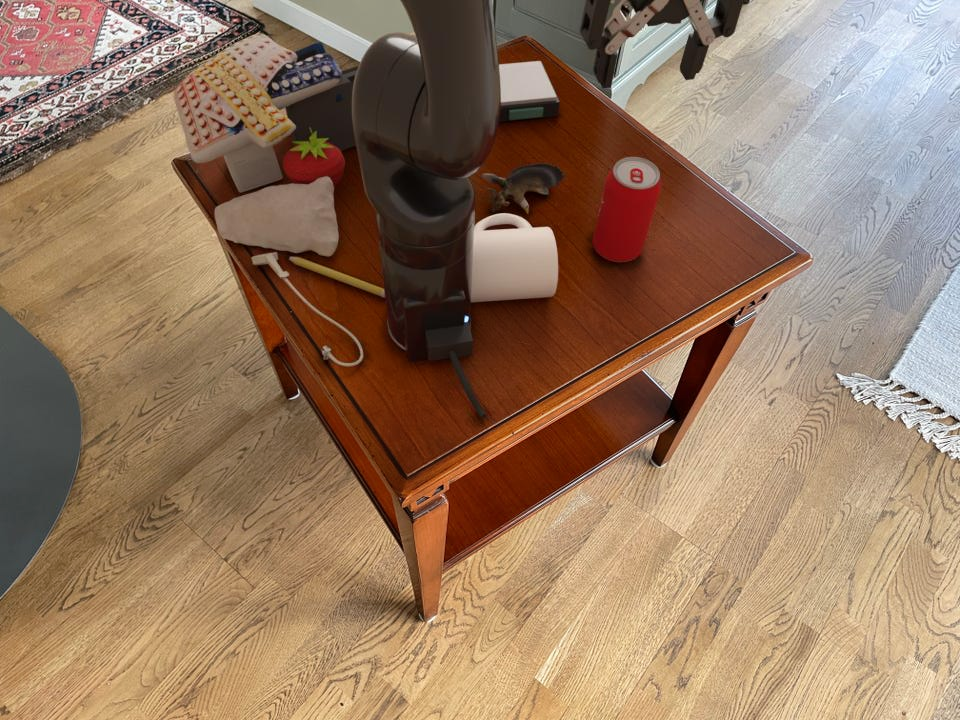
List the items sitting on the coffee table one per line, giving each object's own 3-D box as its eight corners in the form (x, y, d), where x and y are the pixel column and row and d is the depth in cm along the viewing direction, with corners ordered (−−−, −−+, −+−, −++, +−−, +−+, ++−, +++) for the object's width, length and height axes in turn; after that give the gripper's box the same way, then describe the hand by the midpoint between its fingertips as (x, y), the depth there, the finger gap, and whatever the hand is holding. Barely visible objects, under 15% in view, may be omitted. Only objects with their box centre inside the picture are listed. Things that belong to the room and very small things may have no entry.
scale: (558, 118, 103) (561, 100, 100) (492, 125, 101) (493, 106, 99) (540, 76, 109) (542, 58, 106) (477, 82, 107) (477, 64, 105)
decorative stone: (339, 181, 87) (219, 188, 87) (332, 171, 83) (205, 179, 83) (344, 259, 87) (223, 266, 87) (336, 254, 83) (209, 261, 83)
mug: (552, 310, 82) (562, 263, 75) (467, 317, 81) (469, 269, 74) (535, 237, 89) (542, 188, 82) (456, 242, 88) (457, 192, 81)
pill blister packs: (360, 90, 88) (278, 31, 92) (351, 57, 83) (265, -5, 86) (235, 202, 83) (154, 134, 86) (217, 173, 78) (131, 102, 81)
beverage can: (640, 232, 90) (663, 156, 80) (642, 268, 86) (666, 193, 76) (591, 228, 90) (608, 151, 80) (590, 263, 86) (609, 187, 77)
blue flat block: (344, 100, 90) (338, 102, 90) (311, 106, 102) (307, 108, 101) (322, 40, 87) (316, 42, 87) (291, 53, 99) (286, 55, 98)
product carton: (284, 179, 93) (270, 134, 87) (239, 194, 91) (221, 148, 85) (270, 152, 96) (256, 106, 90) (226, 165, 94) (208, 119, 88)
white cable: (364, 376, 79) (289, 251, 87) (370, 358, 76) (292, 231, 84) (321, 391, 76) (246, 260, 84) (325, 373, 74) (248, 240, 81)
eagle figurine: (520, 231, 87) (574, 192, 89) (496, 181, 84) (552, 141, 86) (491, 224, 94) (541, 188, 96) (467, 177, 90) (520, 140, 92)
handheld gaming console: (437, 102, 104) (436, 38, 95) (447, 112, 102) (447, 48, 94) (294, 155, 96) (279, 89, 87) (302, 166, 94) (289, 100, 86)
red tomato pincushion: (290, 184, 92) (274, 119, 84) (347, 179, 93) (338, 113, 85) (291, 215, 89) (276, 151, 81) (351, 209, 90) (342, 145, 82)
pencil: (288, 256, 85) (286, 250, 84) (390, 294, 82) (390, 289, 82) (283, 261, 85) (281, 255, 84) (386, 300, 82) (386, 295, 81)
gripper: (620, -77, 52) (586, 110, 66) (795, -89, 54) (728, 95, 68) (591, -121, 56) (564, 64, 70) (754, -131, 58) (699, 51, 72)
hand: (645, 79), depth 69 cm, fingers open, 8 cm apart
